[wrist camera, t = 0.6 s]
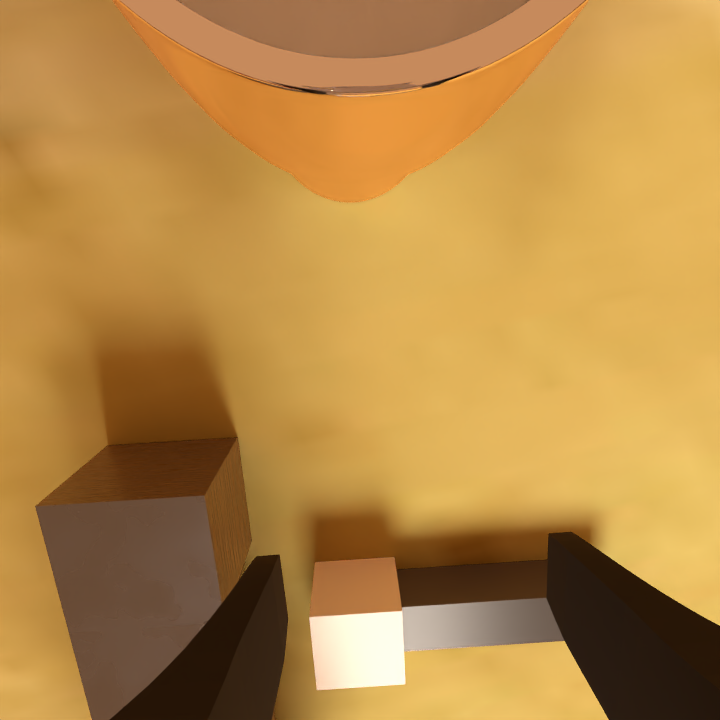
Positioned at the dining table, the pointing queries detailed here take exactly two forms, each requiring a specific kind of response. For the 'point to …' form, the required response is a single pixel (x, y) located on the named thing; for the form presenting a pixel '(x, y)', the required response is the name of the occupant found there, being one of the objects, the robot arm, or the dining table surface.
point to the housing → (144, 557)
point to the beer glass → (350, 76)
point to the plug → (419, 614)
